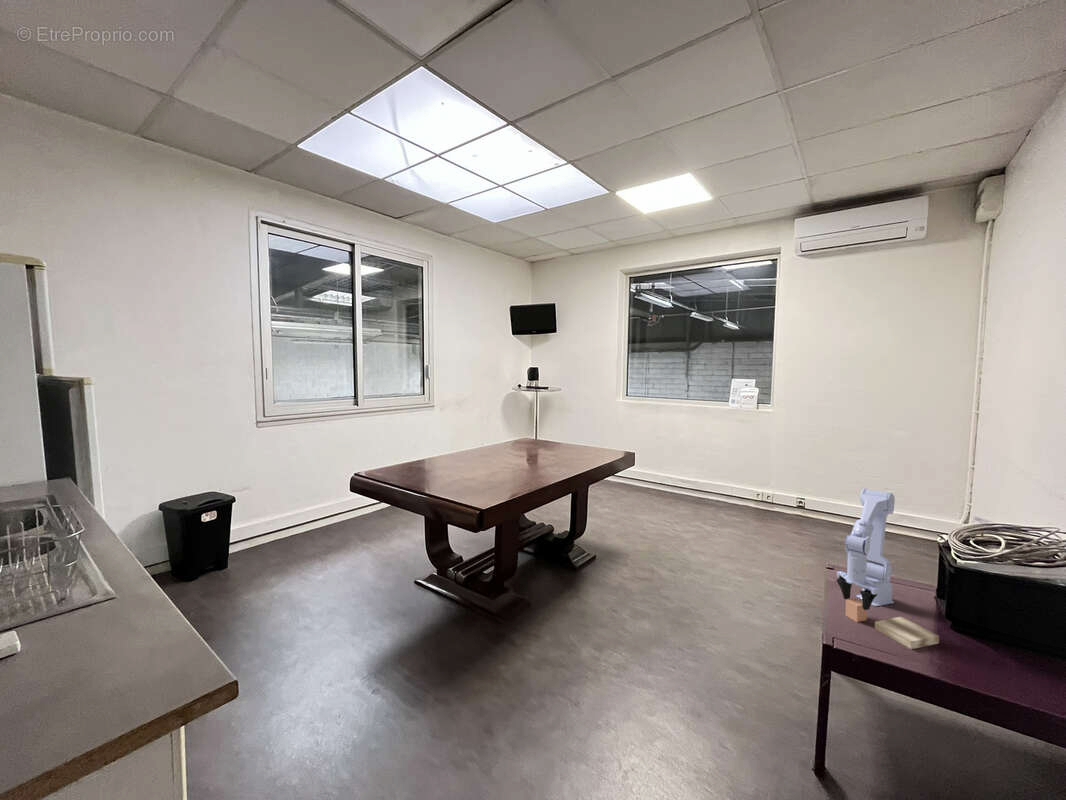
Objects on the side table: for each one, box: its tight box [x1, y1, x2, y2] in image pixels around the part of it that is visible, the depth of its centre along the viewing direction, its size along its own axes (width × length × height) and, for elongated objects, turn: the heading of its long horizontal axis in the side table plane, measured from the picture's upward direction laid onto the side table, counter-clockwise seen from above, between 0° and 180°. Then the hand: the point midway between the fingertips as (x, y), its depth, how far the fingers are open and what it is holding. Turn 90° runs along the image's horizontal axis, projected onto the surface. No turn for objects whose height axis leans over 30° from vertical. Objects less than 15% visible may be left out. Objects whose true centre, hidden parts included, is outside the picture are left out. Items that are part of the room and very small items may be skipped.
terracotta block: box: [845, 598, 868, 623], centre depth 160 cm, size 4×4×6 cm
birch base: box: [874, 616, 940, 650], centre depth 149 cm, size 12×12×3 cm
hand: (856, 603), depth 160 cm, fingers open, 7 cm apart
